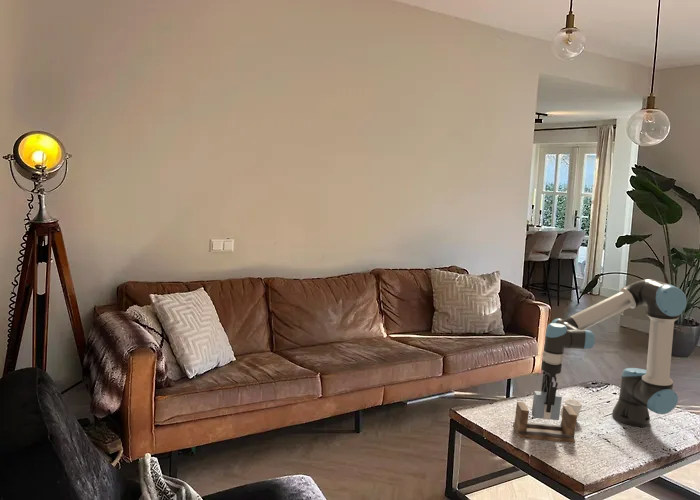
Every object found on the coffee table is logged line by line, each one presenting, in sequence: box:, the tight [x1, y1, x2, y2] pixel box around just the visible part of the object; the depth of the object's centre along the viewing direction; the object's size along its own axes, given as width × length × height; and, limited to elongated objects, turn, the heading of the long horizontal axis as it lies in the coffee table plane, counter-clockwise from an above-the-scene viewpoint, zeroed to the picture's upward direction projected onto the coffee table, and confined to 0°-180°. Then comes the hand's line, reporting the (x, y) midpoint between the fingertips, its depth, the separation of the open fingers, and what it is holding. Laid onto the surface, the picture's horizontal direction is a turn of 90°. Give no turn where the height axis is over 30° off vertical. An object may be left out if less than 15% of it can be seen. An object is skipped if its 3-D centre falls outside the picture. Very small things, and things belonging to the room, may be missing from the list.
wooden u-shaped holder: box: [512, 401, 578, 444], centre depth 240 cm, size 22×12×11 cm, turn 86°
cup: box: [560, 398, 583, 422], centre depth 256 cm, size 7×10×8 cm
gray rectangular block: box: [531, 390, 563, 421], centre depth 239 cm, size 10×4×10 cm, turn 86°
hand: (545, 416), depth 240 cm, fingers closed on gray rectangular block, 4 cm apart
